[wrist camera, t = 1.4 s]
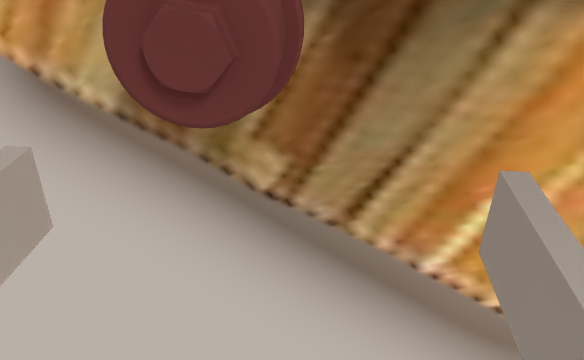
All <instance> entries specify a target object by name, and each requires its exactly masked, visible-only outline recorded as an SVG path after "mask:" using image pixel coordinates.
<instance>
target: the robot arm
mask: <svg viewBox="0 0 584 360" xmlns="http://www.w3.org/2000/svg"><path fill="white" fill-rule="evenodd" d="M52 227H53V225H52V222H51V218H50V214H49V211H48V207H47V204H46V201H45V196H44V193H43V189H42V186H41V182H40V179H39V175H38V171H37V168H36V164H35V161H34V157H33V154H32V150H31V148H29V147H10V146H5V147H4V148H2V149H1V150H0V286H1V285H2V284H3V283H4V281H6V279H7V278H8V277H9V276H10V275H11V274H12V273H13V271H14V270H15V269H16V268H17V267H18V266H19V265H20V263H21V262H22V261H23V260H24V259H25V258H26V257H27V256H28V254H29V253H30V252H31V251H32V250H33V249H34V248H35V246H36V245H37V244H38V243H39V242H40V241H41V240H42V238H43V237H44V236H45V235H46V234H47V233H48V232H49V230H50V229H51V228H52ZM479 254H480V256H481V259H482V261H483V264H484V266H485V269H486V271H487V273H488V276H489V278H490V281H491V283H492V286H493V288H494V291H495V293H496V296H497V298H498V301H499V303H500V305H501V308H502V310H503V313H504V315H505V318H506V320H507V323H508V325H509V327H510V330H511V333H512V335H513V337H514V340H515V342H516V345H517V347H518V350H519V352H520V355H521V357H522V360H584V249H583V247H582V246H581V245H580V243H579V242H578V240H577V239H576V238H575V236H574V235H573V233H572V232H571V231H570V229H569V228H568V226H567V225H566V224H565V222H564V221H563V219H562V218H561V217H560V215H559V214H558V212H557V211H556V210H555V208H554V207H553V205H552V204H551V203H550V201H549V200H548V198H547V197H546V196H545V194H544V193H543V191H542V190H541V188H540V187H539V186H538V184H537V183H536V181H535V180H534V179H533V177H532V176H531V174H530V173H529V172H516V171H499V175H498V179H497V183H496V187H495V191H494V195H493V199H492V203H491V206H490V210H489V214H488V218H487V222H486V226H485V230H484V234H483V238H482V242H481V245H480V249H479Z"/></svg>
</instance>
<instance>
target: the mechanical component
mask: <svg viewBox="0 0 584 360" xmlns="http://www.w3.org/2000/svg"><path fill="white" fill-rule="evenodd" d="M303 36H304V16H303V7H302V3H301V0H106V3H105V8H104V14H103V39H104V45H105V50H106V53H107V56H108V59H109V62H110V64H111V66H112V69H113V71H114V73H115V75H116V76H117V78H118V79H119V81H120V83H121V84H122V86H123V87H124V88H125V89H126V91H127V92H128V93H129V94H130V95H131V97H133V98H134V99H135V100H136V101H137V102H138V103H139V104H140V105H141V106H142V107H144V108H145V109H147V110H148V111H150V112H151V113H152V114H154V115H156V116H158V117H160V118H162V119H164V120H166V121H168V122H171V123H174V124H177V125H181V126H186V127H191V128H214V127H219V126H223V125H227V124H230V123H232V122H235V121H237V120H239V119H241V118H242V117H244V116H246V115H247V114H249V113H251V112H253V111H255V110H257V109H259V108H261V107H263V106H264V105H266V104H267V103H269V102H270V101H271V100H272V99H273V98H274V97H276V96H277V95H278V94H279V93H280V92H281V90H282V89H283V88H284V87H285V85H286V84H287V83H288V81H289V79H290V77H291V76H292V74H293V72H294V70H295V67H296V65H297V62H298V60H299V56H300V52H301V48H302V43H303Z"/></svg>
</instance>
